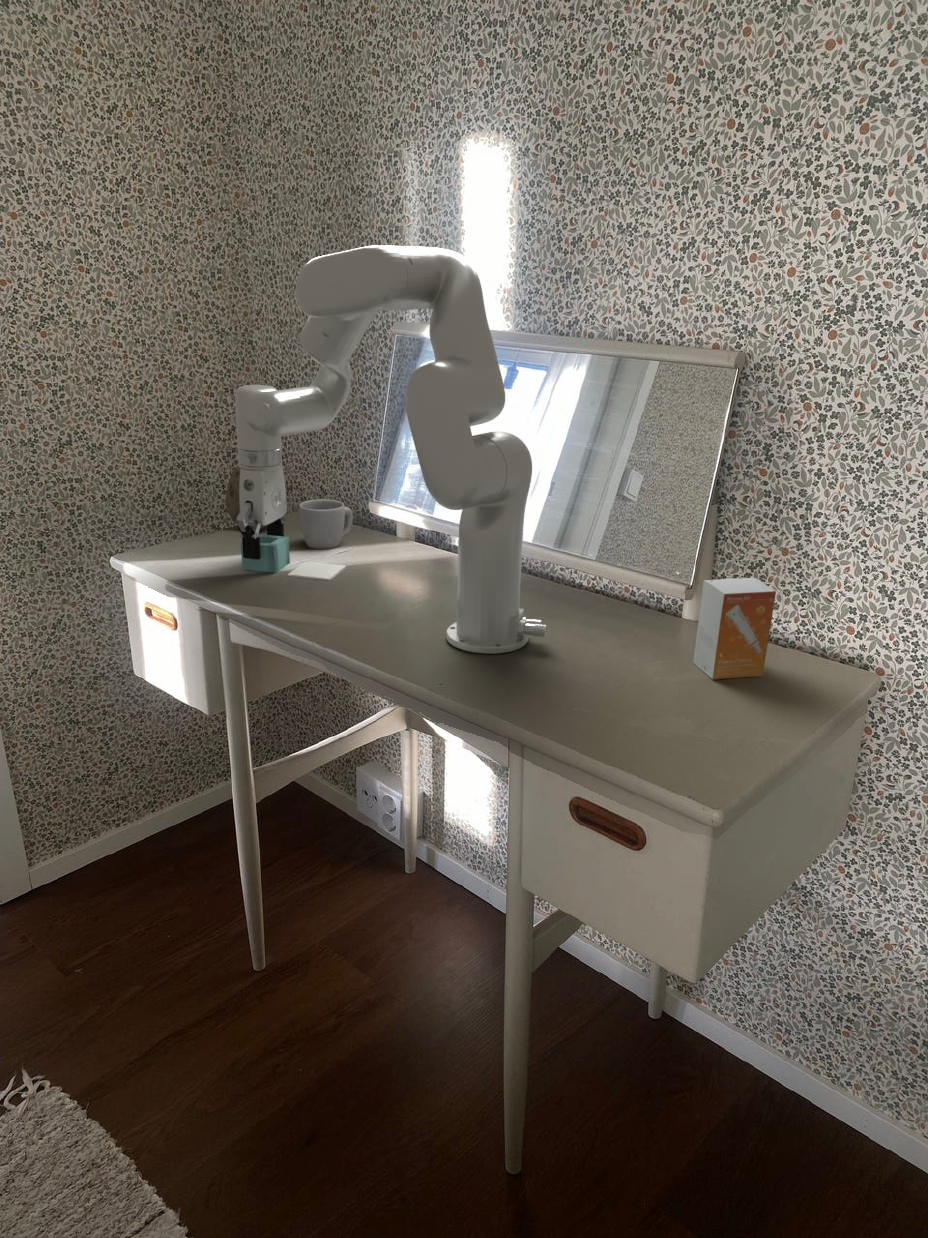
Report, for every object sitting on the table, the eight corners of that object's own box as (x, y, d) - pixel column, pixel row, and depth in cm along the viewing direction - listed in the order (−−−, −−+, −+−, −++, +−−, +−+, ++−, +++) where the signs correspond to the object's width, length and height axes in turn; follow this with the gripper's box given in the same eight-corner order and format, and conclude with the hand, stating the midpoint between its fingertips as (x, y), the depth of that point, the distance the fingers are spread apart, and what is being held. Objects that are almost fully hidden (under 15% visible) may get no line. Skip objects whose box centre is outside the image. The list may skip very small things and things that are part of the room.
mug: (320, 561, 179) (318, 512, 176) (291, 551, 185) (289, 504, 181) (366, 548, 188) (365, 502, 184) (337, 540, 193) (336, 494, 190)
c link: (289, 562, 172) (288, 536, 171) (275, 573, 167) (273, 546, 165) (258, 559, 174) (256, 533, 172) (242, 569, 168) (240, 542, 166)
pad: (346, 568, 171) (346, 565, 171) (329, 581, 164) (329, 578, 163) (305, 564, 173) (305, 561, 172) (287, 577, 165) (287, 574, 165)
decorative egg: (219, 534, 195) (214, 463, 189) (239, 521, 205) (235, 454, 199) (268, 538, 193) (264, 466, 188) (286, 525, 203) (283, 456, 198)
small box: (712, 681, 131) (723, 593, 126) (692, 663, 136) (702, 579, 132) (764, 676, 132) (777, 590, 128) (742, 659, 138) (753, 576, 133)
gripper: (257, 469, 155) (262, 567, 161) (299, 450, 170) (302, 540, 177) (216, 465, 156) (222, 562, 163) (262, 447, 172) (266, 536, 178)
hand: (264, 550), depth 170 cm, fingers open, 9 cm apart
